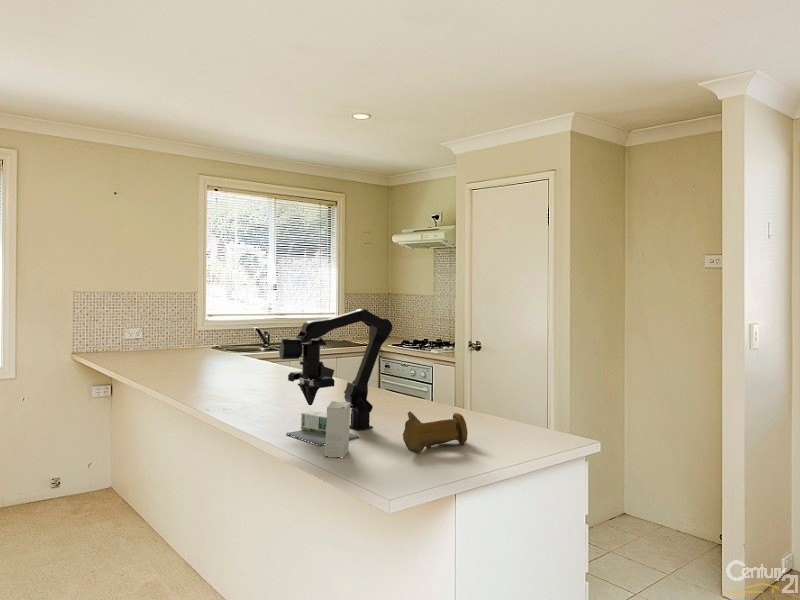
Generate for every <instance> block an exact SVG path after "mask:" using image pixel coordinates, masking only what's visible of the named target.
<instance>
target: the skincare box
mask: <svg viewBox="0 0 800 600" xmlns="http://www.w3.org/2000/svg"><path fill="white" fill-rule="evenodd" d="M326 413H327V422H326V443H325V445H324V457H325V456H328V457H327V458H331V457H345V458H346V455H347V454H348V451H349V447H350V446H349V445H350V443H349V442H350V440H349V433H350V428H349V425H351V408H350V402H346V401H336V400H331V402H330V403H329V405H328V406H327V407H326Z"/></svg>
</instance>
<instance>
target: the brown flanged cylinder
mask: <svg viewBox="0 0 800 600" xmlns="http://www.w3.org/2000/svg"><path fill="white" fill-rule="evenodd" d="M407 417H408V419H407V420H406V421H405V422H404V430H403V432H402V439H403V442H404V444H405V446H406V448H407V450H408V451H409V452H410V453H413V454H418V453H419V454H421V452H423V450H424V448H427V447H428V448H430V447H433V446H436V445H443V444H446V443H449V442H452V441H457V442H458V443H459V445H464V444H465V443H466V442H467V441H468V427H467V422H466V419H465V418H464V416H463V415H462V414H460V413H457V412H455V413H453V415H452V418H451V419H450V418H449V419H441V420H435V421H429V422H428V421H427V422H421V421H420V420H419V418H418V417H417V416H416V415H415V414H414V413H413V412H412V411H408V412H407ZM419 454H418V455H419Z"/></svg>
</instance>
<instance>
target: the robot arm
mask: <svg viewBox="0 0 800 600" xmlns="http://www.w3.org/2000/svg"><path fill="white" fill-rule="evenodd" d="M359 322H361V323H363V324H364V325H366V326H367V327H369V331H368V343H367V346H366V349H365V351H364V354H363V357H362V359H361V362H360V365H359V366H358V367H359V368H358V371H357V372H356V376H355V378H354V380H352V382H349V381H347V384H346V388H345V390H343V393H344V397H343V398H344V400H345V402H350V425H349V429H352V430H355V431H356V430H357V431H363V430H369V429H372V428H373V427H374V425H373V426H372V425H371V424H370V419H371V418H370V416H371V415H370V413H371V412H372V411H373V408H374V407H373V406H374V405H373V404H371V403H370V402H369V401H368V399H367V398H368V394H369V388H368V387H369V381H370V377H371V376H372V372H373V370H374V367H375V364H376V362H377V359H378V356H379V353H380V350H381V348H382V346H383V344H384V343H385V342H386V341H387V340H388V338H389V336H390V335H391V333H392V331H393V324H392V322H391V321H390V319H387V318H383V317H380V316H377V314H373V313H371V312H370V311H369V310H367V309H366V308H358V309H356V310H353V311H350V312H346V313H342V314H340V315H337V316H331V317H329V318H325V319H312V320H306V321H305V322H303V324H302V325H301V330H300V331H299V333H298V334H296V335H297V336H296V337H295V338H286V337H285V338H281V342H280V345H279V348H278V349H279V350H278V352H279V353H278V355H279V358H280V359H281V360H299V359H300V357H301V358H302V361H301V360H300V361H299V365H301V366H302V367H301V368H302V370H301V371H299V370H298V371H291V372H289V374H288V375H287V381H288V382H294V381H297V380H299V383H297V386H298V387H299V388H300V390H301V392H302V394H303V396H304V398H305V401H306V403H307V404H308V406H312V405H313V403H314V401H315V399H316V395H317V394H318V391H319V389H323V388H324V389H325V388H329V387H330V388H331V387H332V388H333V387H335V379H334V378H333V376H334V373H335V369H332V368H330V367H327V366H325V364H324V362H323V361H321V346H326V345H327V342H325V340H324V339H323V338H322V337H323V336H325V335H327V334H328V333H329V332H331V331H333V330H336V329H339V328H343V327H346V326H349V325H352V324H356V323H359Z"/></svg>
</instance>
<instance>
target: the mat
mask: <svg viewBox="0 0 800 600" xmlns="http://www.w3.org/2000/svg"><path fill="white" fill-rule="evenodd" d="M286 434H289V435H292V436H295V437H297V438H300V439H303V440H306V441H309V442H312V443H314V444H317V445H324V444H325V443H326V434H323V433H318V432H312V431H307V430H301V429H300V430H295V431H291V432H286ZM286 434H285V435H286ZM297 438H296V439H297ZM359 438H360V436H359V435H357V434H354V433H352V432H351V433H350V432H349V441H351V440H355V439H356V440H357V439H359ZM300 439H299V440H300ZM350 439H351V440H350ZM303 440H302V441H303ZM314 444H313V445H314ZM317 445H316V446H317ZM324 446H325V445H324Z"/></svg>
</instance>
